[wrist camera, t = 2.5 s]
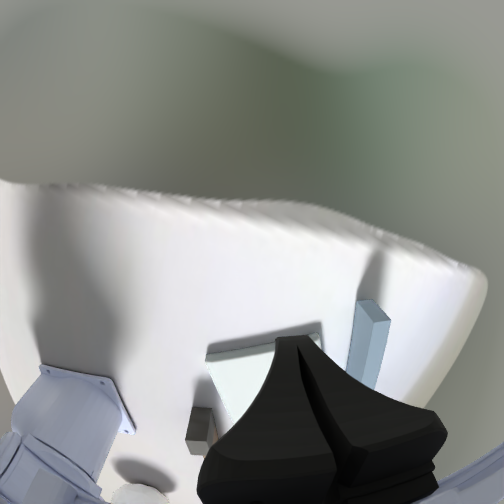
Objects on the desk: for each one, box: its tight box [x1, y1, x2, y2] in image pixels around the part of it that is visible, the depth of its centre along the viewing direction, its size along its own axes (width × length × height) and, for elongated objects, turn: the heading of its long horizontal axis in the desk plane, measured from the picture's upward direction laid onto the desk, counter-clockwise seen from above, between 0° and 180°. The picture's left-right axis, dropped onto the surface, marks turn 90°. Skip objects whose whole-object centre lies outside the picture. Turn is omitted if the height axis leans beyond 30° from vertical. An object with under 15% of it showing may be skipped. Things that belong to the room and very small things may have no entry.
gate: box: [346, 299, 391, 390], centre depth 17 cm, size 12×2×4 cm, turn 3°
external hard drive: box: [205, 332, 322, 424], centre depth 20 cm, size 2×8×12 cm
